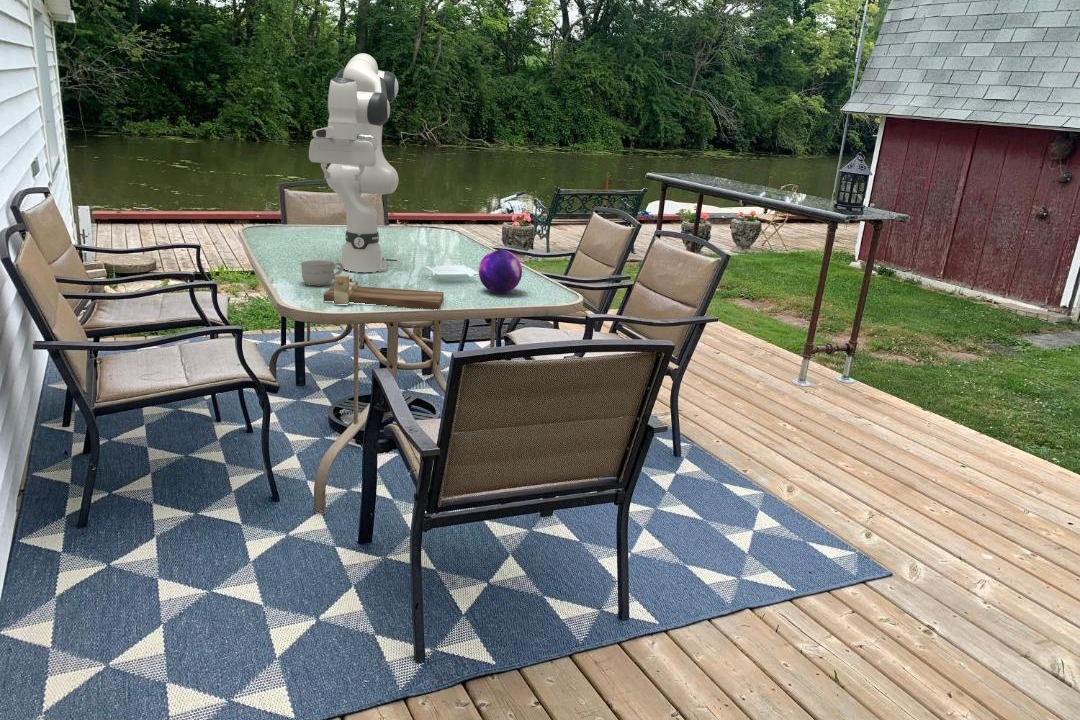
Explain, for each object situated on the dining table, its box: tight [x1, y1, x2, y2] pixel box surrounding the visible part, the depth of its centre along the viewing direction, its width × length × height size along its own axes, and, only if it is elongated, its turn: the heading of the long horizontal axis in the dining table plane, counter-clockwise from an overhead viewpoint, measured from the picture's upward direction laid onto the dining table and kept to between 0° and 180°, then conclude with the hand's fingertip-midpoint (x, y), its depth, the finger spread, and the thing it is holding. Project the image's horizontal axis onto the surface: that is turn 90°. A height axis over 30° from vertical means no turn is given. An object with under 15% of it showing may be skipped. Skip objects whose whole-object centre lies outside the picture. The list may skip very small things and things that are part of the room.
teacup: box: [300, 259, 344, 287], centre depth 273 cm, size 14×11×8 cm
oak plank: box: [323, 284, 445, 311], centre depth 259 cm, size 14×36×2 cm, turn 91°
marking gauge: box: [333, 274, 359, 305], centre depth 255 cm, size 17×4×9 cm, turn 1°
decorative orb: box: [478, 249, 523, 294], centre depth 279 cm, size 15×15×15 cm
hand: (342, 179), depth 251 cm, fingers open, 8 cm apart
